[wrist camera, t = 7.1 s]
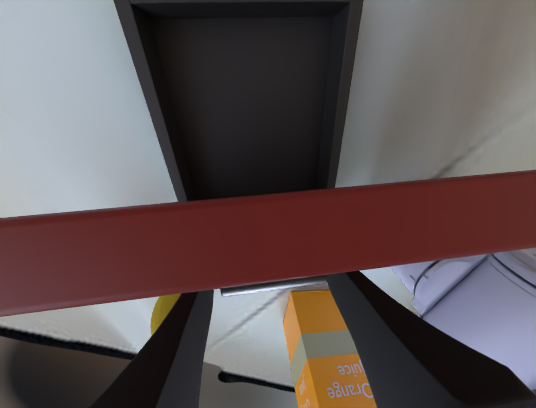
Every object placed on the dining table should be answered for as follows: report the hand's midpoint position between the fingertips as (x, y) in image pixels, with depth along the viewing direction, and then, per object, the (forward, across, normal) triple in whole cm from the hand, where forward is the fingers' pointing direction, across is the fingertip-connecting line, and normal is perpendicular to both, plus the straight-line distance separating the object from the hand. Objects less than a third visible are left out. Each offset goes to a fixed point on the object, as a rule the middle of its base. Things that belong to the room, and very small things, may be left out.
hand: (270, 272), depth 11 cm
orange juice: (+10, -7, +22) cm, 25 cm away
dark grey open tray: (+10, 0, -7) cm, 12 cm away
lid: (0, 0, -4) cm, 4 cm away
